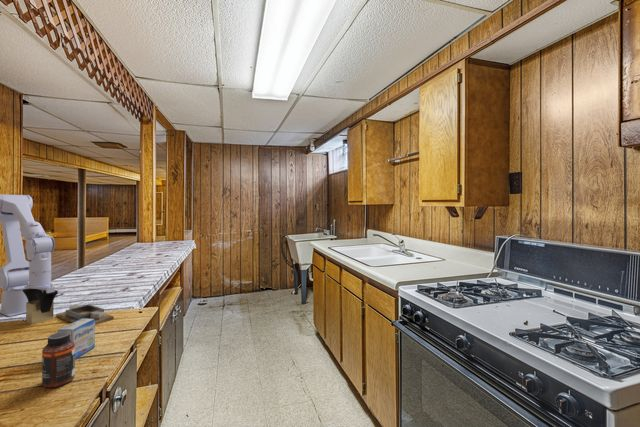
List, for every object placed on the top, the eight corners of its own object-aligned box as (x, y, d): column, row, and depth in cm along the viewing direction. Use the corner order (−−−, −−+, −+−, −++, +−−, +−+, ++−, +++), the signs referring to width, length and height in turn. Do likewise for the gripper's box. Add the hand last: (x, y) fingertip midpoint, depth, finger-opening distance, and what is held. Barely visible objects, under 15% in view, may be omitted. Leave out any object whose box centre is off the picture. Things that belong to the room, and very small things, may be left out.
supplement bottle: (81, 375, 75) (81, 330, 75) (58, 390, 69) (58, 341, 69) (59, 373, 76) (59, 328, 75) (34, 387, 70) (35, 339, 70)
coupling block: (26, 322, 105) (26, 302, 104) (47, 316, 110) (47, 297, 110) (31, 324, 103) (31, 304, 103) (53, 319, 108) (53, 299, 108)
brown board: (56, 316, 110) (56, 308, 110) (84, 309, 118) (84, 301, 118) (85, 327, 102) (85, 319, 102) (113, 319, 110) (113, 310, 110)
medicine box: (72, 361, 81) (73, 329, 81) (56, 360, 82) (56, 329, 81) (95, 347, 89) (95, 318, 89) (80, 346, 89) (80, 317, 89)
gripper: (15, 270, 105) (15, 309, 106) (35, 276, 99) (35, 317, 100) (40, 267, 112) (40, 303, 112) (61, 272, 105) (61, 311, 106)
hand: (40, 309), depth 106 cm, fingers open, 7 cm apart
